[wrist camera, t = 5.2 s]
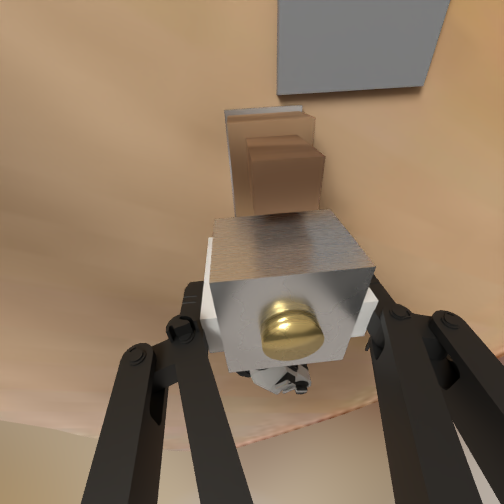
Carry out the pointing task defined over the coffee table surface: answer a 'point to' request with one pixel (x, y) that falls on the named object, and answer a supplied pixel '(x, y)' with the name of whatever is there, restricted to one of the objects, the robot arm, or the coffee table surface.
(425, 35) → the felt mat
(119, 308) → the coffee table surface
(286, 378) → the camera
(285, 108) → the plane body
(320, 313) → the grey gold knob block
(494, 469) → the robot arm
